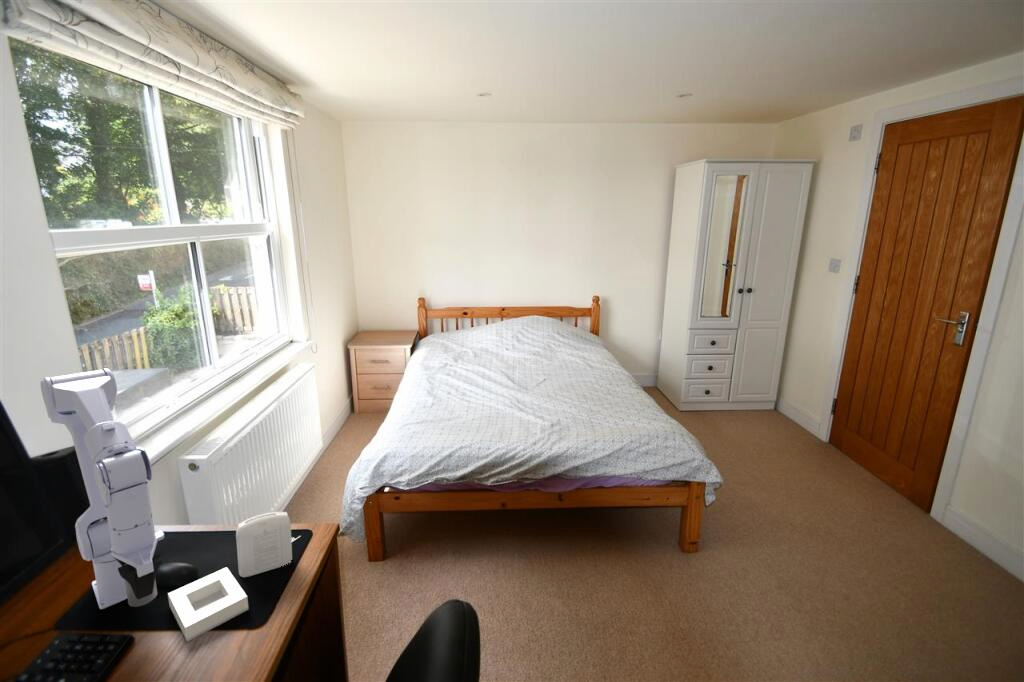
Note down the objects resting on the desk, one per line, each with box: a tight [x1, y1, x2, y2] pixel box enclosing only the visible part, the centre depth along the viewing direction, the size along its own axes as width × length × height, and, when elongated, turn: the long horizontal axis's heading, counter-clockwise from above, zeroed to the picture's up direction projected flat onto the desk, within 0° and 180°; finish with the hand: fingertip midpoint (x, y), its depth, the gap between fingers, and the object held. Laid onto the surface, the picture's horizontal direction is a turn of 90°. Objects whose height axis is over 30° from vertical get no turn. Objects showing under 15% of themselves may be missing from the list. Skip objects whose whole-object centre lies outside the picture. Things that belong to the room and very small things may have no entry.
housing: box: [167, 567, 249, 642], centre depth 88 cm, size 11×10×3 cm
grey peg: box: [125, 563, 158, 608], centre depth 80 cm, size 4×4×7 cm
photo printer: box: [235, 511, 293, 578], centre depth 98 cm, size 10×4×12 cm, turn 124°
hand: (141, 588), depth 81 cm, fingers closed on grey peg, 4 cm apart
